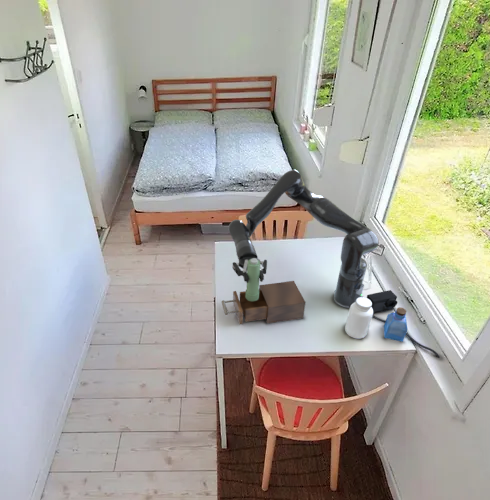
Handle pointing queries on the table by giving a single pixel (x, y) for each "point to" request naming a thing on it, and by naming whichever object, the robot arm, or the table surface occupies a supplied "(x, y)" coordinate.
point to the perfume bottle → (396, 325)
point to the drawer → (247, 307)
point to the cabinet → (283, 301)
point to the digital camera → (382, 301)
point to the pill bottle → (359, 318)
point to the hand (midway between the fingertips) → (254, 280)
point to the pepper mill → (253, 280)
